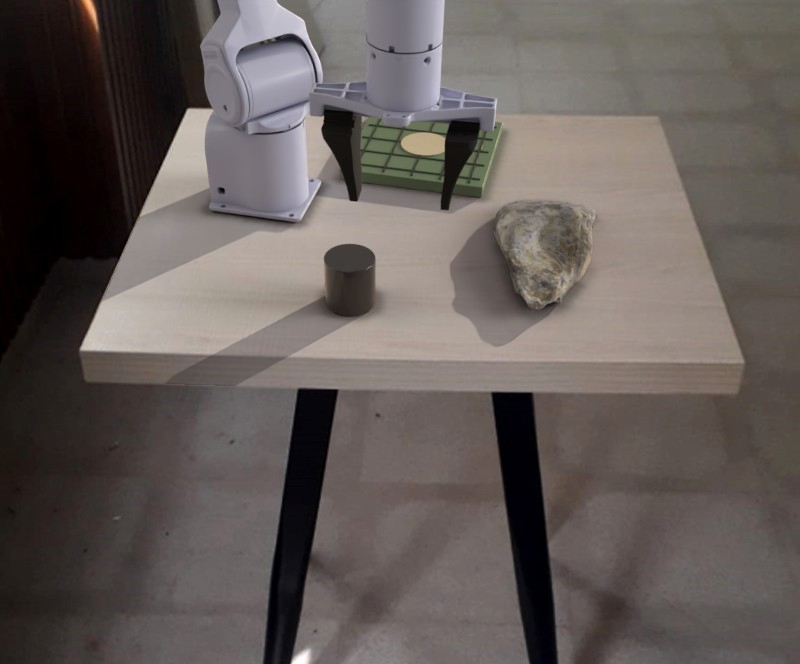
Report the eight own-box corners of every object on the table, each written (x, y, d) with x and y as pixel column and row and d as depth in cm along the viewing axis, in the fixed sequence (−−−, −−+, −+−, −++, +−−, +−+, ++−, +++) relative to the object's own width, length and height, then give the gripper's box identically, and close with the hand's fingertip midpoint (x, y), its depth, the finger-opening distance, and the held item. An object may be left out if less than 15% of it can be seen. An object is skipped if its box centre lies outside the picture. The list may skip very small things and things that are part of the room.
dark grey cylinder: (319, 312, 83) (317, 268, 80) (333, 283, 86) (331, 240, 83) (368, 319, 82) (368, 275, 79) (380, 290, 85) (380, 247, 82)
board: (340, 179, 100) (339, 167, 99) (373, 117, 111) (373, 106, 110) (481, 197, 98) (482, 186, 97) (502, 132, 109) (503, 121, 108)
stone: (490, 336, 84) (605, 337, 84) (491, 305, 82) (610, 307, 81) (493, 204, 98) (592, 205, 97) (494, 174, 95) (595, 174, 94)
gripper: (296, 52, 69) (305, 216, 78) (497, 68, 67) (482, 233, 77) (317, 16, 74) (323, 174, 83) (504, 31, 73) (489, 189, 82)
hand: (400, 199), depth 80 cm, fingers open, 7 cm apart
